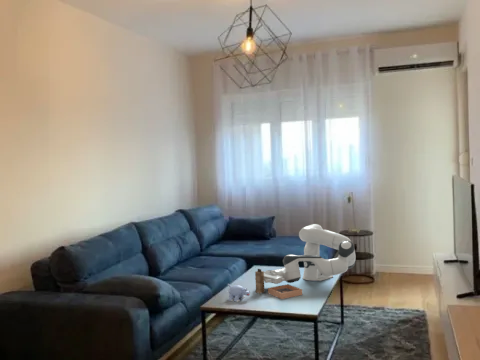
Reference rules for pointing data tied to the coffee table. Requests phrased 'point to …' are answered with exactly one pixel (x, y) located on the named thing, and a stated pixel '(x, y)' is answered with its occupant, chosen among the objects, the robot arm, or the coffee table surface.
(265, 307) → the coffee table surface
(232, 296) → the hippopotamus toy
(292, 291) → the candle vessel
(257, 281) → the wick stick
